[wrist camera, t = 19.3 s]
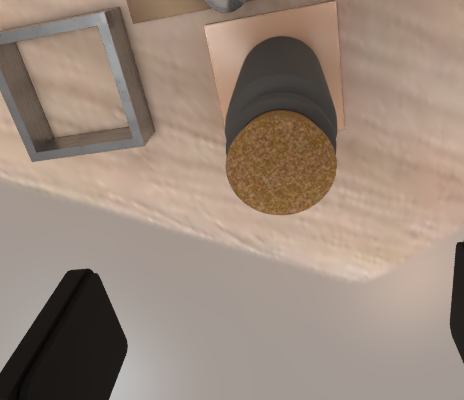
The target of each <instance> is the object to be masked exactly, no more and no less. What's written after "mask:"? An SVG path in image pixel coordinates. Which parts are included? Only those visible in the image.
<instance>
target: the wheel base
mask: <svg viewBox="0 0 464 400" xmlns="http://www.w3.org/2000/svg"><path fill="white" fill-rule="evenodd" d="M247 1H252V0H246V1H245V2H247ZM127 3H128V7H129V11H130V14H131V18H132V22H133V24H134V23H139V22H144V21H149V20H154V19H159V18H165V17H170V16H175V15H180V14H185V13H190V12H195V11H201V10H206V9H211V7H210V6H209V5H208V4H207V3H206V1H205V0H127Z"/></svg>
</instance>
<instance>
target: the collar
mask: <svg viewBox="0 0 464 400" xmlns="http://www.w3.org/2000/svg"><path fill="white" fill-rule="evenodd" d="M93 26H98V28H99V31H100V34H101V38H102V41H103V44H104V47H105V50H106V54H107V57H108V60H109V63H110V66H111V70H112V73H113V76H114V79H115V82H116V85H117V89H118V92H119V95H120V98H121V101H122V105H123V108H124V111H125V114H126V117H127V121H128V124H129V127H126V128H119V129H112V130H106V131H99V132H92V133H86V134H79V135H72V136H66V137H59V138H54V137H53V134H52V132H51V130H50V127H49V125H48V122H47V120H46V117H45V115H44V112H43V110H42V107H41V105H40V102H39V100H38V98H37V95H36V93H35V90H34V88H33V85H32V83H31V80H30V78H29V75H28V73H27V71H26V68H25V66H24V63H23V61H22V58H21V56H20V53H19V51H18V48H17V46H16V43H15V42H17V41H22V40H27V39H32V38H37V37H42V36H47V35H52V34H57V33H62V32H67V31H73V30H78V29H83V28H88V27H93ZM0 91H1V93H2V95H3V98H4V100H5V102H6V104H7V107H8V109H9V111H10V113H11V116H12V118H13V120H14V122H15V125H16V127H17V129H18V131H19V134H20V136H21V138H22V140H23V143H24V145H25V147H26V149H27V152H28V154H29V156H30V158H31V161H32V162H35V161H42V160H49V159H57V158H64V157H71V156H78V155H85V154H92V153H99V152H106V151H113V150H120V149H127V148H135V147H142V146H145V145H146V143H147V142H148V141H149V139H150V138H151V136H152V135H153V133H154V132H155V131H154V127H153V124H152V120H151V117H150V113H149V110H148V106H147V103H146V99H145V96H144V92H143V89H142V85H141V82H140V78H139V75H138V71H137V68H136V64H135V61H134V57H133V54H132V50H131V47H130V43H129V40H128V36H127V33H126V29H125V26H124V22H123V19H122V15H121V12H120V8H119V7H116V8H112V9H107V10H102V11H97V12H92V13H87V14H82V15H77V16H72V17H67V18H62V19H57V20H53V21H48V22H43V23H38V24H33V25H28V26H23V27H18V28H13V29H8V30H3V31H0Z"/></svg>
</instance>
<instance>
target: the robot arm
mask: <svg viewBox="0 0 464 400" xmlns="http://www.w3.org/2000/svg"><path fill="white" fill-rule="evenodd" d="M450 329H451V333H452V337H453V339H454V342H455V344H456V346H457V349H458V351H459V353H460V356H461V358H462V360H463V363H464V242H458V243H457V245H456V253H455V265H454V277H453V291H452V302H451V314H450ZM127 348H128V345H127V339H126V337H125V334H124V332H123V330H122V328H121V325H120V323H119V321H118V318H117V316H116V314H115V311H114V309H113V307H112V304H111V302H110V300H109V298H108V295H107V293H106V291H105V288H104V286H103V284H102V281H101V279H100V277H99V275H98V274H97V273H93V271H92V270H90V269H78V270H70V271H68V272H67V273H66V274H65V275H64V277H63V279H62V280H61V282H60V283H59V285H58V286H57V288H56V289H55V291H54V292H53V294H52V295H51V297H50V298H49V300H48V301H47V303H46V304H45V306H44V308H43V309H42V310H41V312H40V313H39V315H38V316H37V318H36V320H35V321H34V323H33V324H32V326H31V327H30V329H29V330H28V332H27V333H26V335H25V336H24V338H23V339H22V341H21V342H20V344H19V345H18V347H17V348H16V350H15V351H14V353H13V354H12V356H11V357H10V359H9V360H8V362H7V363H6V365H5V367H4V368H3V370H2V371H1V373H0V400H109V398H110V395H111V392H112V390H113V387H114V385H115V382H116V380H117V377H118V374H119V372H120V369H121V366H122V364H123V361H124V358H125V356H126V353H127Z"/></svg>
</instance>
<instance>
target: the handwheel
mask: <svg viewBox="0 0 464 400" xmlns="http://www.w3.org/2000/svg"><path fill="white" fill-rule="evenodd" d="M205 1H206V3H207V4H208V5H209V6H210V7H211V8H212V9H214V10H216V11H218V12H222V13H229V12H233V11H235V10H237V9H238V8H240V7H241V6H242V5H243V3H244V2H245V1H246V0H205Z"/></svg>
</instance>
